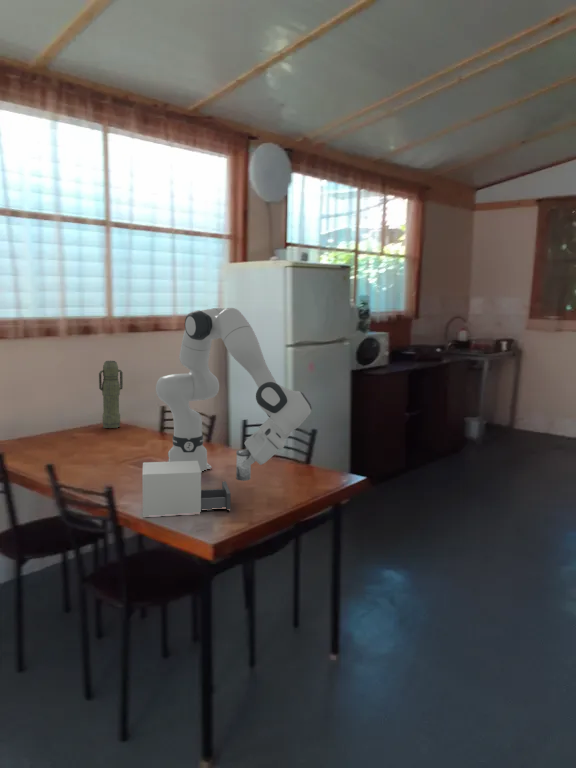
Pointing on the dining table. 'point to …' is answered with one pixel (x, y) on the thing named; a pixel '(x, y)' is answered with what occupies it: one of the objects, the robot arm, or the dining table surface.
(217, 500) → the grey drawer
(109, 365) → the thermos
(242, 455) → the canister
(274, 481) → the dining table surface
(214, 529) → the dining table surface
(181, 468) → the grey box
